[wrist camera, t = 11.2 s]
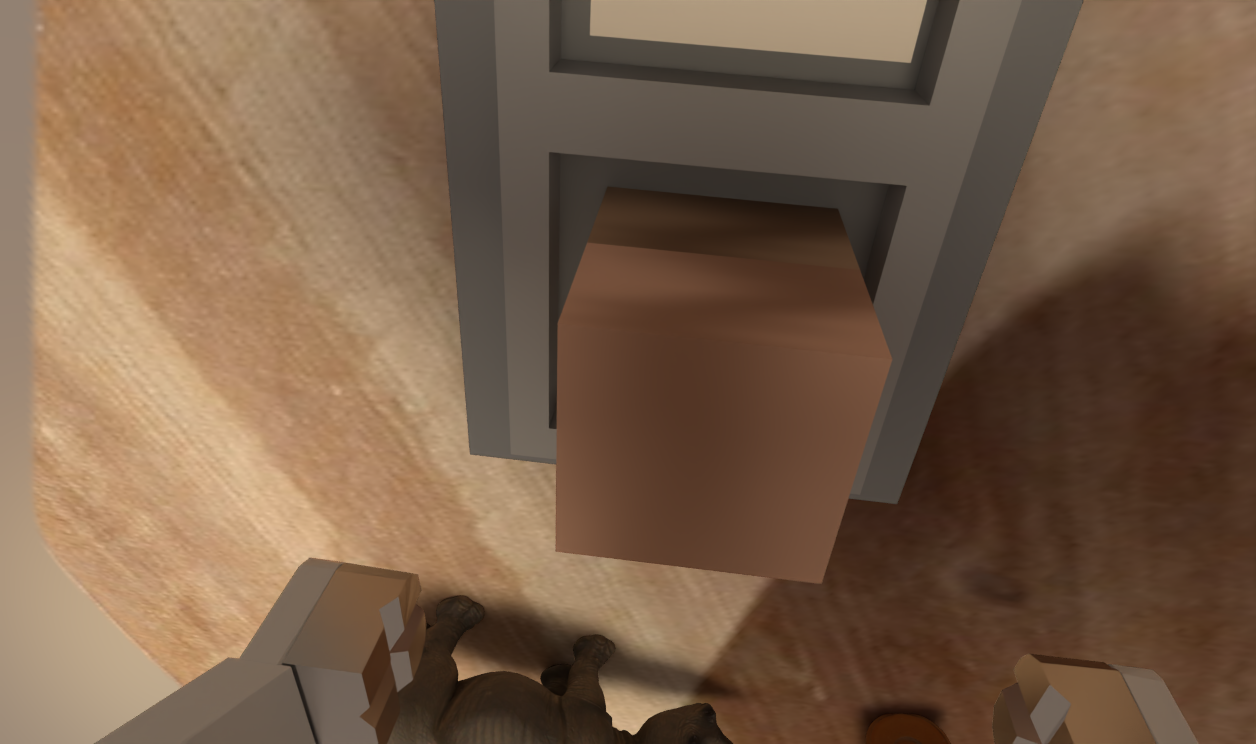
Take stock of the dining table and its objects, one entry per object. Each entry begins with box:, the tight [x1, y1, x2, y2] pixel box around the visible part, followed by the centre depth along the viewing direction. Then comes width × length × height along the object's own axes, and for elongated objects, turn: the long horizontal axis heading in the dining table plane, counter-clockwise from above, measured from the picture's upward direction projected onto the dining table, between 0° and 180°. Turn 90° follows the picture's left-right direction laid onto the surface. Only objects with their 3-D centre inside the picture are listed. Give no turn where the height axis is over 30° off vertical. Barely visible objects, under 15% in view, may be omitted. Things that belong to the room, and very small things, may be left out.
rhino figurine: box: [387, 596, 733, 744], centre depth 25 cm, size 4×14×6 cm, turn 74°
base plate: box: [434, 0, 1083, 504], centre depth 14 cm, size 20×12×4 cm, turn 176°
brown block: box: [556, 187, 892, 584], centre depth 15 cm, size 5×5×6 cm
